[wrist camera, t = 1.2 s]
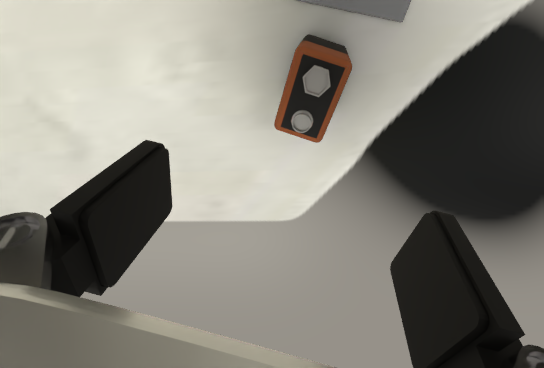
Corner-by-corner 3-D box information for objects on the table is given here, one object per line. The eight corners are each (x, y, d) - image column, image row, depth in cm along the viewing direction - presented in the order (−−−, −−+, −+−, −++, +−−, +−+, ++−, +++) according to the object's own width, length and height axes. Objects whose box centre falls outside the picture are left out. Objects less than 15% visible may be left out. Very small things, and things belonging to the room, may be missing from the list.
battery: (347, 46, 26) (356, 65, 18) (322, 110, 30) (319, 150, 22) (305, 32, 26) (295, 45, 18) (286, 98, 30) (270, 134, 22)
